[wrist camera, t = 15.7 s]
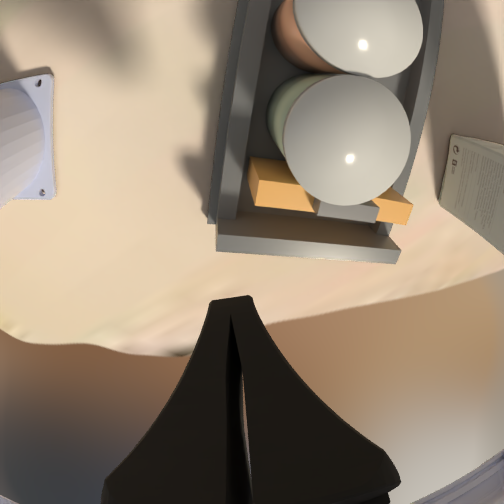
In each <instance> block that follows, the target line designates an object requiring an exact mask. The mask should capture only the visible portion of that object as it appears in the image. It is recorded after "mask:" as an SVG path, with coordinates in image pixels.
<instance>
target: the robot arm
mask: <svg viewBox="0 0 504 504" xmlns="http://www.w3.org/2000/svg"><path fill="white" fill-rule="evenodd" d="M39 80H41V82H42V83H41V86H40V87H39V85H38V82H39ZM53 94H54V77H53V75H52V74H42V75H37V76H32V77H27V78H22V79H17V80H13V81H9V82H5V83H1V84H0V209H1V208H2V207H3V206H5V205H6V204H7V203H8V202H9V201H11V200H12V199H33V200H50V199H52V198H53V197H55V195H56V181H55V169H54V152H53ZM42 189H43V190H44V191H45V194H43V193H42ZM242 372H243V377H242ZM243 381H244V392H245V404H246V415H247V426H248V439H249V452H250V464H251V474H250V468H249V461H248V454H247V447H246V440H245V433H244V420H243ZM400 483H401V480H400V476H399V473H398V471H397V469H396V467H395V466H394V464H393V462H392V461H391V459H390V458H389V456H388V455H387V454H386V452H385V451H384V450H383V449H382V448H380V447H379V446H377V445H376V444H374V443H373V442H371V441H370V440H368V439H367V438H366V437H364V436H363V435H362V434H360V433H359V432H358V431H356V430H355V429H354V428H353V427H351V426H350V425H349V424H348V423H346V422H345V421H344V420H343V419H341V418H340V417H339V416H338V415H337V414H336V413H335V412H334V411H333V410H332V409H331V408H330V407H328V406H327V405H326V404H325V403H324V402H323V401H322V400H321V399H320V398H319V397H318V396H317V395H316V394H315V393H314V392H313V391H312V390H311V389H310V388H309V387H308V386H307V384H306V383H305V382H304V381H303V380H302V379H301V378H300V376H299V375H298V374H297V373H296V372H295V371H294V369H293V368H292V367H291V365H290V364H289V363H288V361H287V360H286V359H285V357H284V356H283V354H282V353H281V352H280V350H279V349H278V347H277V346H276V344H275V343H274V341H273V340H272V338H271V336H270V335H269V333H268V332H267V330H266V328H265V326H264V324H263V323H262V321H261V319H260V317H259V315H258V312H257V310H256V308H255V305H254V302H253V298H252V297H251V296H249V295H246V296H240V297H233V298H226V299H219V300H212V301H211V302H210V303H209V307H208V311H207V315H206V318H205V321H204V324H203V327H202V330H201V333H200V336H199V338H198V341H197V343H196V346H195V348H194V351H193V353H192V355H191V358H190V360H189V362H188V364H187V366H186V368H185V370H184V373H183V375H182V377H181V379H180V381H179V382H178V384H177V386H176V388H175V390H174V391H173V393H172V395H171V397H170V399H169V400H168V402H167V403H166V405H165V406H164V408H163V409H162V411H161V413H160V414H159V416H158V417H157V419H156V420H155V421H154V423H153V424H152V426H151V427H150V429H149V430H148V431H147V432H146V434H145V435H144V436H143V438H142V439H141V440H140V441H139V443H138V444H137V445H136V446H135V447H134V449H133V450H132V451H131V452H130V454H129V455H128V456H127V457H126V458H125V459H124V460H123V461H122V462H121V463H120V464H119V465H118V467H116V468H115V469H114V470H113V471H112V472H111V473H110V475H109V476H107V478H106V479H105V481H104V487H103V490H102V496H101V504H389V503H390V498H389V495H388V492H390V491H391V490H393V489H394V488H396V487H397V486H399V485H400ZM0 504H18V503H16V502H14V501H12V500H9V499H8V498H5V497H3V496H1V495H0ZM410 504H504V449H503V450H502V451H500V452H499V453H497V454H496V455H495V456H493V457H492V458H490V459H489V460H487V461H486V462H484V463H483V464H482V465H481V466H479V467H478V468H476V469H475V470H473V471H472V472H470V473H468V474H467V475H465V476H463V477H461V478H460V479H458V480H456V481H454V482H453V483H451V484H449V485H447V486H445V487H444V488H442V489H440V490H438V491H436V492H434V493H432V494H430V495H428V496H426V497H423V498H421V499H419V500H417V501H415V502H413V503H410Z"/></svg>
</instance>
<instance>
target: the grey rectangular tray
mask: <svg viewBox="0 0 504 504" xmlns="http://www.w3.org/2000/svg"><path fill="white" fill-rule="evenodd" d="M283 1H284V0H239V1H238V6H237V11H236V16H235V22H234V27H233V33H232V38H231V44H230V50H229V56H228V62H227V68H226V75H225V81H224V88H223V94H222V101H221V108H220V116H219V123H218V131H217V138H216V146H215V154H214V163H213V172H212V181H211V190H210V199H209V209H208V220H207V224H216V251H218V252H232V253H245V254H259V255H273V256H287V257H301V258H315V259H330V260H344V261H358V262H372V263H387V264H396V262H397V260H398V258H399V255H400V253H401V250H400V248H399V247H398V246H397V245H396V244H395V243H394V242H393V240H392V239H391V238H390V237H389V233H390V231H391V228H392V225H393V223H389V222H382V221H375V223H370V222H363V221H356V220H348V219H340V218H333V217H325V216H317V215H316V213H315V212H308V211H300V210H291V209H282V208H273V207H263V206H255V204H254V201H253V197H252V194H251V190H250V187H249V183H248V180H247V172H248V165H249V159H250V156H251V157H259V158H267V159H274V160H281V161H286V160H285V157H284V156H283V154H282V153H281V151H280V150H279V148H278V147H277V145H276V144H275V142H274V141H273V139H272V138H271V136H270V134H269V131H268V128H267V124H266V109H267V105H268V102H269V99H270V97H271V95H272V94H273V92H274V91H275V90H276V88H277V87H278V86H279V85H280V84H281V83H283V82H284V81H286V80H287V79H289V78H291V77H293V76H296V75H300V74H308V73H310V72H306V71H303V70H301V69H299V68H297V67H295V66H293V65H292V64H291V63H289V62H288V61H287V60H286V59H285V58H284V57H283V56H282V55H281V54H280V52H279V51H278V49H277V48H276V46H275V44H274V41H273V38H272V34H271V21H272V17H273V15H274V13H275V11H276V9H277V8H278V6H279V5H280V4H281V3H282V2H283ZM415 2H416V4H417V6H418V8H419V11H420V14H421V18H422V24H423V40H422V44H421V48H420V50H419V53H418V55H417V57H416V58H415V60H414V61H413V62H412V63H411V64H410V65H409V66H408V67H407V68H406V69H404V70H403V71H401V72H400V73H397V74H395V75H392V76H389V77H383V78H369V79H372V80H374V81H376V82H379V83H380V84H382V85H383V86H385V87H386V88H387V89H389V90H390V91H391V92H392V93H393V94H394V95H395V96H396V97H397V99H398V100H399V102H400V103H401V105H402V106H403V108H404V110H405V112H406V115H407V118H408V121H409V125H410V133H411V144H410V151H409V155H408V159H407V162H406V164H405V167H404V168H403V170H402V172H401V174H400V175H399V177H398V178H397V180H396V181H395V182H394V183H393V184H392V185H391V186H390V187H391V188H393V189H394V190H395V191H397V192H398V193H399V194H400V195H402V196H403V194H404V191H405V188H406V185H407V182H408V179H409V176H410V172H411V169H412V166H413V162H414V159H415V156H416V152H417V149H418V145H419V141H420V138H421V134H422V130H423V126H424V122H425V118H426V114H427V109H428V105H429V100H430V96H431V91H432V86H433V81H434V76H435V70H436V64H437V58H438V52H439V45H440V37H441V29H442V20H443V9H444V0H415ZM311 74H315V73H311ZM324 75H334V76H335V75H350V74H324ZM366 78H368V77H366Z"/></svg>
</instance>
